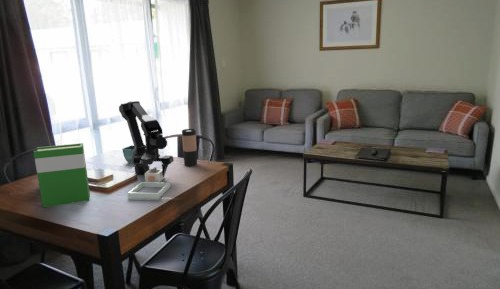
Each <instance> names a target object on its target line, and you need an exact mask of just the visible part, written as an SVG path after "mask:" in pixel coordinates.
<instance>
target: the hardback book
mask: <svg viewBox="0 0 500 289" xmlns="http://www.w3.org/2000/svg"><path fill="white" fill-rule="evenodd" d="M33 158H34V162H35V168H36V174H37V180H38V185H39V191H40V198H41V204H42V208H47V207H54V206H62V205H68V204H75V203H82V202H88V201H90V199H91V197H90V196H91V193H90V185H89V179H88V178H89V177H88V172H87V171H88V170H87V163H86V156H85V149H84V143H83V142H82V143H70V144H60V145H50V146H48V145H47V146H39V147H36V150H33Z"/></svg>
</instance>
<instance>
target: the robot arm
mask: <svg viewBox="0 0 500 289" xmlns="http://www.w3.org/2000/svg"><path fill="white" fill-rule="evenodd" d="M118 110H119V111H118V112H119V113H120V114H121V117H122V118H123V119H125V121H126V122H127V123H126V124H127V125H128V130H129V133H130V138H131V140H132V143H133V144H132V145H133V146H134V150H133V157H132V159H131V163H130V164H131V165H132V166H134V172H135V175H138V176H143V175H144V176H145V173H146V172H147V171H148V170H150V169H151V167H150V165H153V163H154V162H159V163H160V162H161V163H162V164H161V169H162V175H163V177H164V178H165V175H166V171H167V169H168V167H169V165H171V164H172V163H173V162H174V156H173V155H164V156H163V157H161V154H160V153H159V150H163V149H165V148H166V147H167V146H168V140H167V139H166V138H165V137H163V129H162V126H161V125H160V122H159V121H158V120H157V119H156V118H155V117H154V116H151V115H150V114H148V113H147V111H146V110H145V109H144V107H143V106H142V105H141V102H140V101H139V100H131V101H128V102H124V103H123V102H122V103H121V104H120V105H119V106H118ZM137 119H138V121H139V122H140V127H139V124H138V121H137ZM140 128H141V130H142V132H143V136H144V140H145V144H144V141H143V138H142V134H141V131H140Z"/></svg>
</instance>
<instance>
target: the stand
mask: <svg viewBox="0 0 500 289" xmlns="http://www.w3.org/2000/svg"><path fill="white" fill-rule="evenodd" d="M151 169H152V173H157V172H156V169H158V168H157V166H155V167H153V168H151ZM169 179H170V178H169V177H164V179H163V180H161V181H160V182H163V183H167V181H168V180H169Z"/></svg>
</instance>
